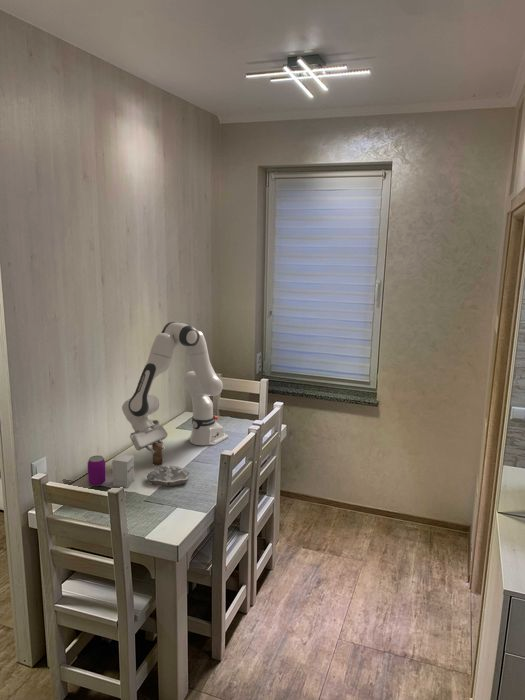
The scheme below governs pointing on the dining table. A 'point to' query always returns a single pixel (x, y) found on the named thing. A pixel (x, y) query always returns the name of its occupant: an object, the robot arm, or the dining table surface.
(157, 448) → the walnut pepper mill
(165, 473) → the brain slice
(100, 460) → the beverage can
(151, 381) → the robot arm
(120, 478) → the supplement box
